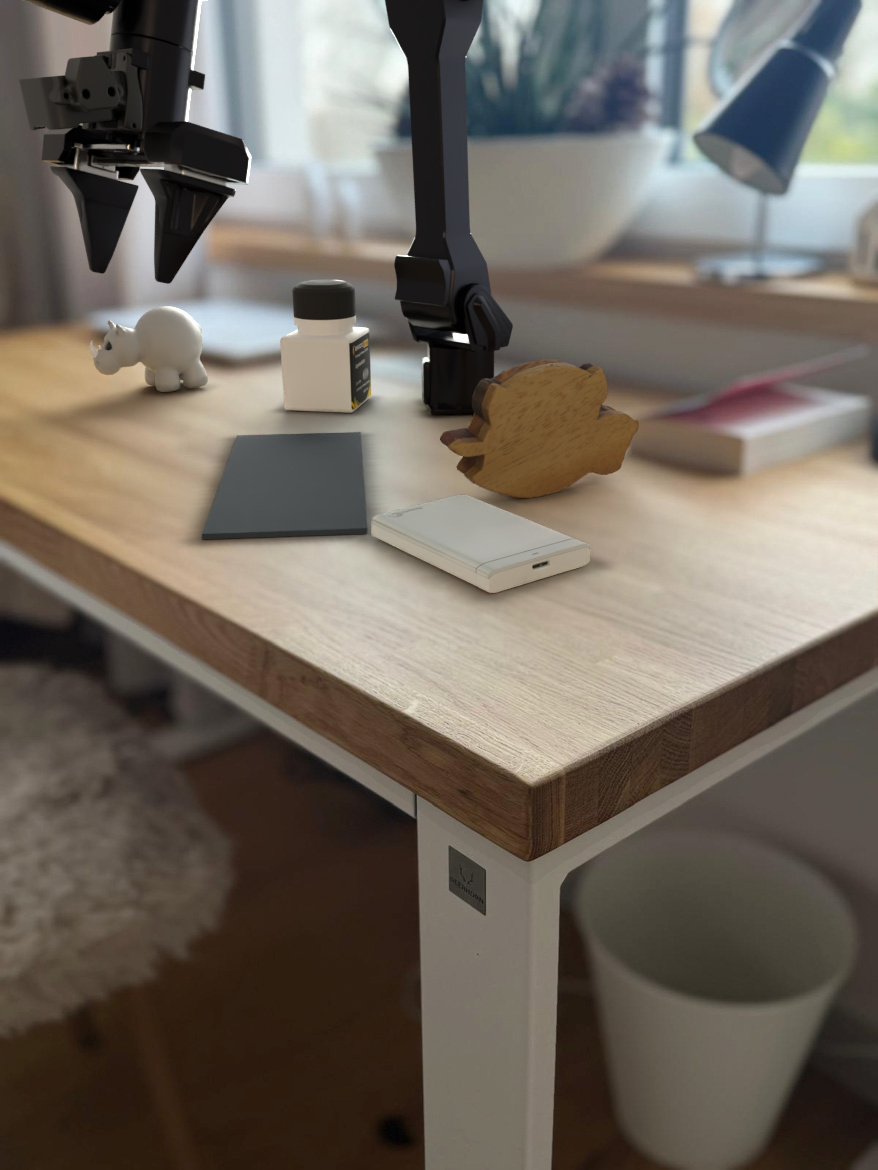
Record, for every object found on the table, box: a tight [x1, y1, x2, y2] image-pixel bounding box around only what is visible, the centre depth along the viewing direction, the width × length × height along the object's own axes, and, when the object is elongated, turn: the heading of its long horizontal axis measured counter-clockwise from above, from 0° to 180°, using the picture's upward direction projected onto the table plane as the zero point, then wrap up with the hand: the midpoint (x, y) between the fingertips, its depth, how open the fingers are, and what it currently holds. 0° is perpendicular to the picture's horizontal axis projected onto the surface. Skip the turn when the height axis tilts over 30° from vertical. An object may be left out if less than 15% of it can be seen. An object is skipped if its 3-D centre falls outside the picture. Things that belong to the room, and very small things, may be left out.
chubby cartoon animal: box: [88, 305, 208, 393], centre depth 114 cm, size 7×12×8 cm, turn 121°
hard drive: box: [370, 493, 591, 594], centre depth 69 cm, size 2×8×12 cm
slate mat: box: [201, 431, 368, 540], centre depth 84 cm, size 11×26×1 cm, turn 5°
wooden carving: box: [439, 358, 640, 499], centre depth 79 cm, size 16×5×10 cm, turn 123°
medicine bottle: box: [279, 279, 372, 414], centre depth 106 cm, size 7×7×12 cm
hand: (128, 277), depth 78 cm, fingers open, 9 cm apart
